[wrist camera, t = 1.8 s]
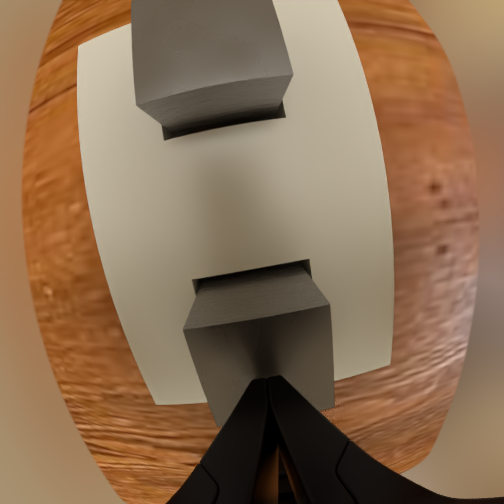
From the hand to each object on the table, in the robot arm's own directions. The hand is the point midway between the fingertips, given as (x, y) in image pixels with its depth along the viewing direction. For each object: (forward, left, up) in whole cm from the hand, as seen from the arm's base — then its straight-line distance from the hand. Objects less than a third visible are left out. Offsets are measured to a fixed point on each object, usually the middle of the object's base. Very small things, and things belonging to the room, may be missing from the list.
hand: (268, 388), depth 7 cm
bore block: (+5, 0, -9) cm, 10 cm away
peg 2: (0, 0, -6) cm, 6 cm away
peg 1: (+10, 0, -6) cm, 11 cm away
